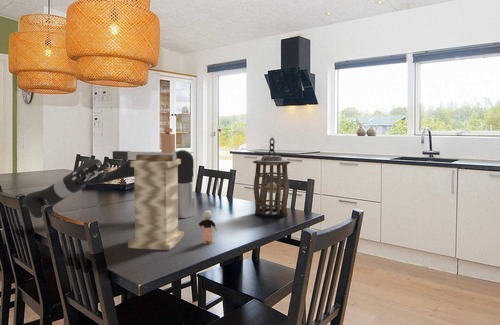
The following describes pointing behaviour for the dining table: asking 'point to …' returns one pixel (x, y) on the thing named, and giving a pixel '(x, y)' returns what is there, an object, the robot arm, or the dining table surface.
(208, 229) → the grandmother figurine
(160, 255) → the dining table surface
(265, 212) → the lantern
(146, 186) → the display stand
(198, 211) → the dining table surface
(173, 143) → the rod
